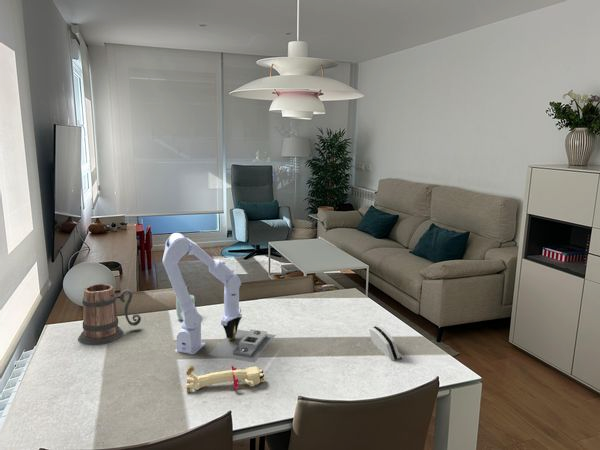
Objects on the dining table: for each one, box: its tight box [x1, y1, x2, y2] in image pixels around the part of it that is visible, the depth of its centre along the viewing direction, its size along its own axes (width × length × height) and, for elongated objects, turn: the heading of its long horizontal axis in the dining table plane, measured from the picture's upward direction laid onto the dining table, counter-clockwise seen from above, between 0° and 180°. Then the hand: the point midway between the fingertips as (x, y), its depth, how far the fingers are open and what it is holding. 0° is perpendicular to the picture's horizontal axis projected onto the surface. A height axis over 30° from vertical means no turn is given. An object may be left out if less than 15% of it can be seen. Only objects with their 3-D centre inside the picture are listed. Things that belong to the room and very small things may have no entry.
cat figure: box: [186, 365, 267, 393], centre depth 144 cm, size 10×9×25 cm
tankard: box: [77, 283, 142, 347], centre depth 178 cm, size 24×17×20 cm
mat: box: [207, 329, 276, 363], centre depth 173 cm, size 24×18×1 cm
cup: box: [175, 294, 196, 321], centre depth 196 cm, size 8×8×10 cm
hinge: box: [368, 324, 404, 362], centre depth 172 cm, size 17×5×10 cm, turn 17°
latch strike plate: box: [233, 329, 269, 357], centre depth 172 cm, size 18×7×3 cm, turn 165°
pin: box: [228, 327, 235, 342], centre depth 176 cm, size 3×3×6 cm
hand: (231, 335), depth 176 cm, fingers closed on pin, 3 cm apart
